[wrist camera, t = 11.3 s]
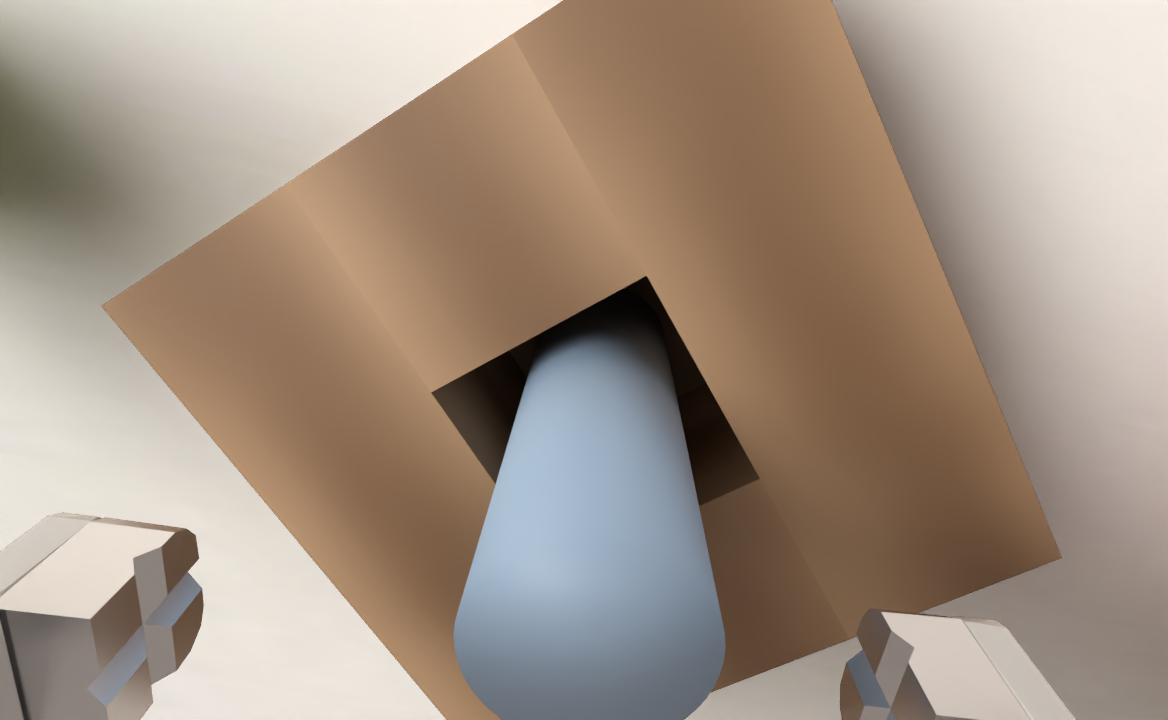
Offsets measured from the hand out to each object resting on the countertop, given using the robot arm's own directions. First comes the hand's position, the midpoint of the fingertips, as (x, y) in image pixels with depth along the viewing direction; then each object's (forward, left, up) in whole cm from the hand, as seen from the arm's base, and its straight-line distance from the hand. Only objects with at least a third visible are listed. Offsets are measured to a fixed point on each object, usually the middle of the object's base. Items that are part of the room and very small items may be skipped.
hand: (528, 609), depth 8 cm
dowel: (0, -1, -11) cm, 11 cm away
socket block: (0, -1, -12) cm, 12 cm away
